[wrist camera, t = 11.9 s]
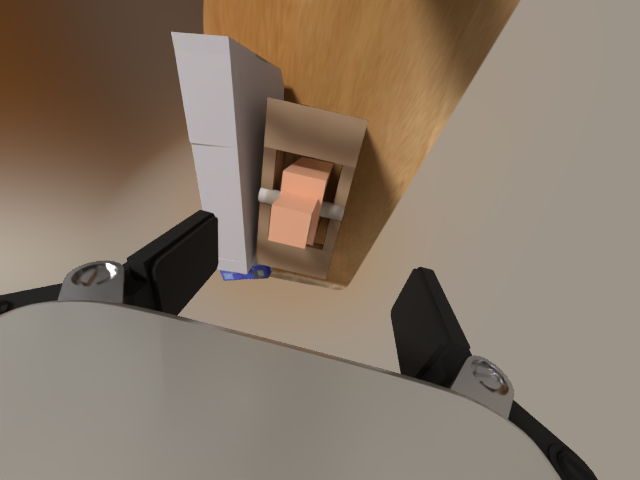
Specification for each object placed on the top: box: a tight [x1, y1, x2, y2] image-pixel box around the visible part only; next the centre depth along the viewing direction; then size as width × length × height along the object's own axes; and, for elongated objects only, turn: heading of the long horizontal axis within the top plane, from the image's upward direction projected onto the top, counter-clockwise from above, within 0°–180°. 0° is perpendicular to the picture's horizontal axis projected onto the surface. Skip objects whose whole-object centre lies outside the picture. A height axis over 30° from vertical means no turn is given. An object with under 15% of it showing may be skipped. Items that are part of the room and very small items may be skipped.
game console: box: [171, 32, 284, 274], centre depth 37 cm, size 6×27×20 cm, turn 175°
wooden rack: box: [255, 97, 368, 280], centre depth 37 cm, size 22×11×19 cm, turn 169°
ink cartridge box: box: [220, 263, 274, 280], centre depth 48 cm, size 10×6×14 cm, turn 99°
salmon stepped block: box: [268, 157, 333, 249], centre depth 31 cm, size 8×5×16 cm, turn 169°
